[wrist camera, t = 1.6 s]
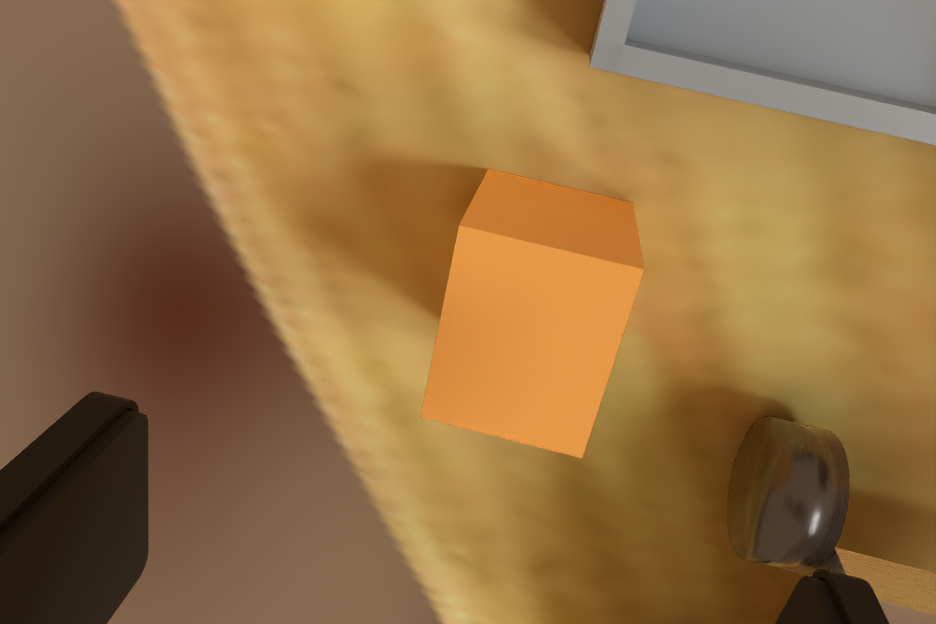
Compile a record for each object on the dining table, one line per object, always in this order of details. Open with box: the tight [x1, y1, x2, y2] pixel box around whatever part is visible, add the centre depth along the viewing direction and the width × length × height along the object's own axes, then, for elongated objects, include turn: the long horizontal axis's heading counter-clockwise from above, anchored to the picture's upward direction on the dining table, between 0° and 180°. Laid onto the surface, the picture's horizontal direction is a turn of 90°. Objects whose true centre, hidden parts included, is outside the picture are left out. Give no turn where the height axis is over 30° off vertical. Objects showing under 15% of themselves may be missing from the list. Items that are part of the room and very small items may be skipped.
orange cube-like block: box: [421, 169, 644, 458], centre depth 19 cm, size 4×5×5 cm
